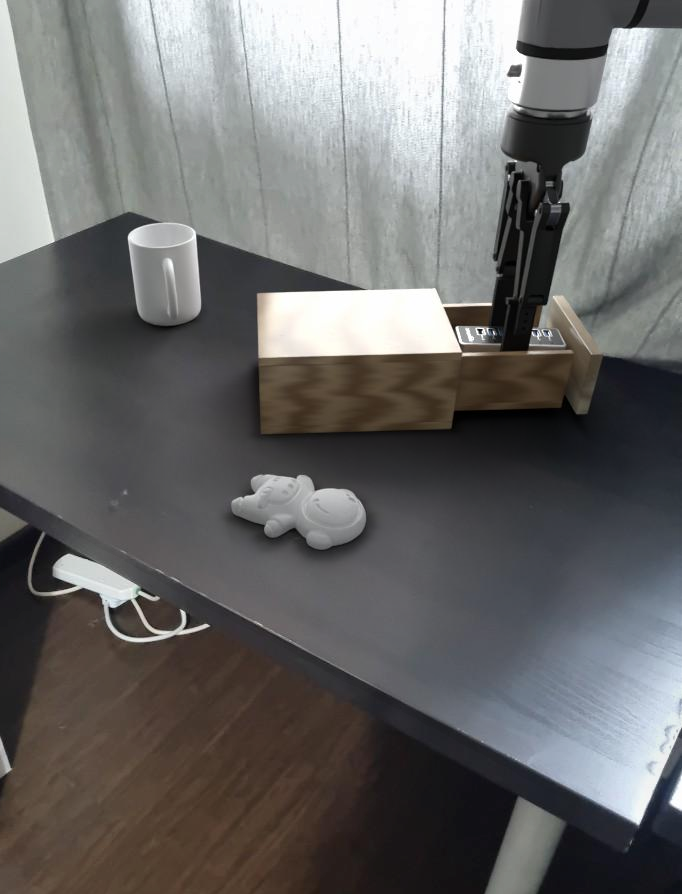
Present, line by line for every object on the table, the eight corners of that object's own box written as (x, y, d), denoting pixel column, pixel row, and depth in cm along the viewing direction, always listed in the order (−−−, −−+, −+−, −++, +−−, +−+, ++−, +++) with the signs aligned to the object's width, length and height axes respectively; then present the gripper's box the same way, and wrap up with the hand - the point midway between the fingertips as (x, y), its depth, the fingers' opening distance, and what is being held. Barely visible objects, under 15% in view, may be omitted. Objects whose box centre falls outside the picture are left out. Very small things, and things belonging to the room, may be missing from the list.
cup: (197, 295, 111) (191, 219, 105) (210, 336, 102) (204, 256, 96) (135, 302, 110) (125, 225, 103) (143, 343, 101) (132, 262, 94)
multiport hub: (562, 366, 87) (567, 346, 85) (457, 363, 87) (460, 343, 86) (553, 347, 90) (558, 327, 89) (452, 344, 90) (455, 325, 89)
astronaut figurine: (268, 471, 81) (267, 446, 79) (380, 509, 76) (383, 482, 74) (219, 521, 75) (217, 495, 73) (337, 565, 70) (338, 538, 68)
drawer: (561, 351, 96) (574, 295, 92) (598, 413, 86) (615, 353, 81) (391, 355, 96) (396, 299, 91) (409, 419, 86) (415, 359, 81)
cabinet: (427, 359, 97) (435, 288, 91) (451, 429, 86) (462, 352, 80) (259, 364, 97) (256, 292, 91) (260, 434, 86) (258, 357, 80)
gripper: (485, 84, 79) (454, 311, 95) (534, 135, 66) (489, 390, 81) (563, 82, 80) (519, 309, 95) (627, 133, 66) (565, 388, 81)
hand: (506, 346), depth 88 cm, fingers closed on multiport hub, 5 cm apart
